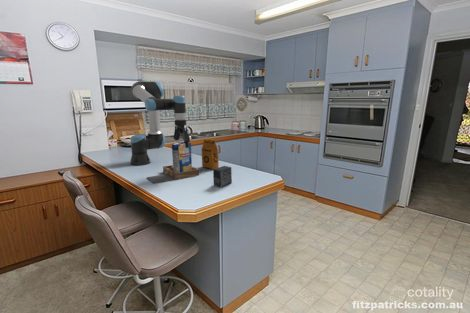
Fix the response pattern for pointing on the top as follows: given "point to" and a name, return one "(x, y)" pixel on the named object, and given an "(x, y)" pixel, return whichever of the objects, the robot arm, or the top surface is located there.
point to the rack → (180, 175)
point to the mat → (160, 178)
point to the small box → (222, 176)
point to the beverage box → (181, 158)
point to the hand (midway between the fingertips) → (182, 150)
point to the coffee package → (210, 154)
